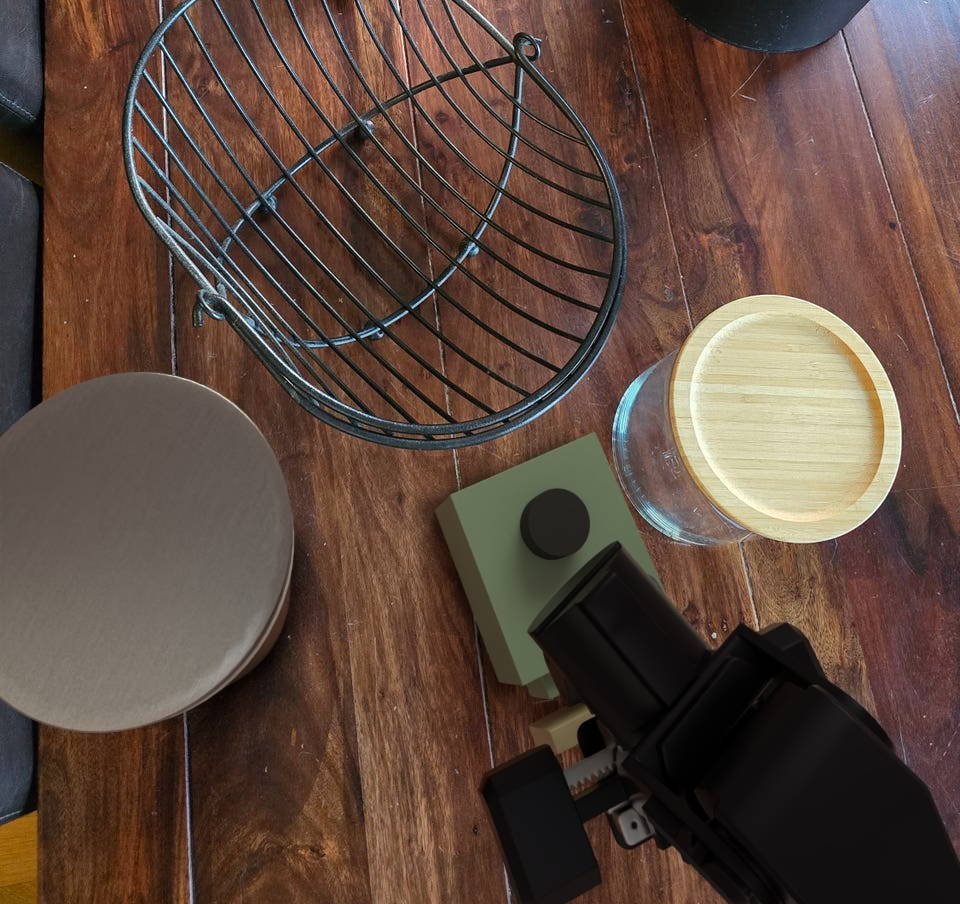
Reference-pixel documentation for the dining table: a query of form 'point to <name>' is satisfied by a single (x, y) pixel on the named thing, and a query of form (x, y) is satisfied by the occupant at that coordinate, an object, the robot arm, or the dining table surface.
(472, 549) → the cabinet
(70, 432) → the round grey canister
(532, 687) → the drawer
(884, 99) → the dining table surface
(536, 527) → the black rubber puck
